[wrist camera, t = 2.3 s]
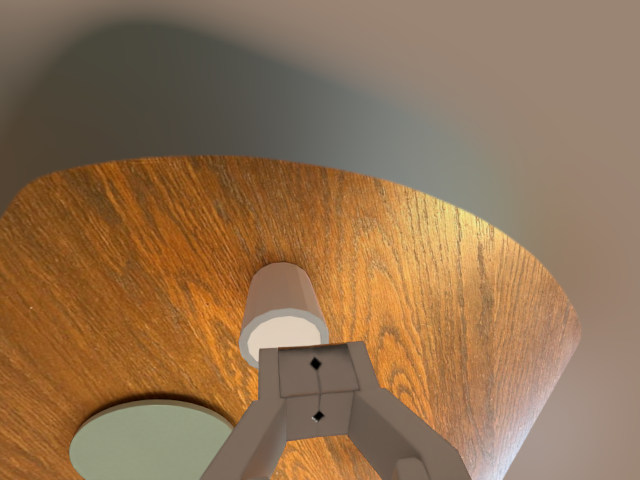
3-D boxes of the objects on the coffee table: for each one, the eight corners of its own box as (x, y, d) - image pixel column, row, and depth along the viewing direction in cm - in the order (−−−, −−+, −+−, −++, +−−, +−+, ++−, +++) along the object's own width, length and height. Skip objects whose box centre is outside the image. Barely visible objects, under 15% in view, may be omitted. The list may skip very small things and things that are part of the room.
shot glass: (226, 284, 31) (218, 343, 25) (287, 242, 30) (293, 293, 24) (274, 326, 35) (277, 387, 29) (331, 290, 33) (346, 345, 27)
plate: (52, 401, 35) (44, 414, 34) (234, 385, 38) (233, 397, 37) (98, 492, 44) (93, 505, 43) (244, 474, 47) (243, 486, 46)
